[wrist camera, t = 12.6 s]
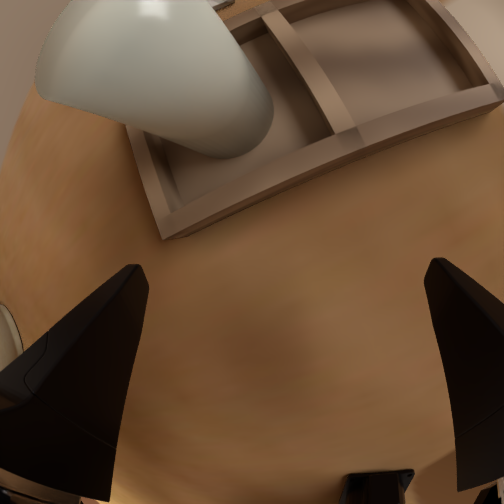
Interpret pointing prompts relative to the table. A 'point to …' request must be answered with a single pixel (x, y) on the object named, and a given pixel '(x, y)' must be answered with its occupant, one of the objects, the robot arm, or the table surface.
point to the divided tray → (323, 101)
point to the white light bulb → (157, 72)
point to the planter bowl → (8, 339)
